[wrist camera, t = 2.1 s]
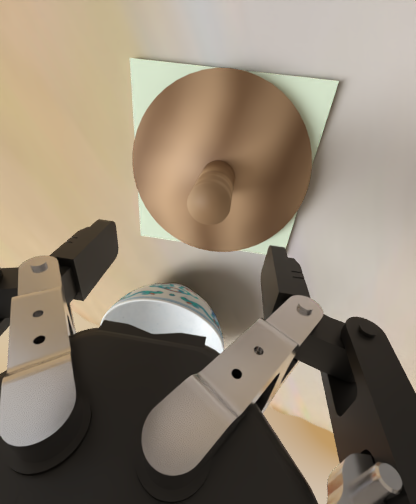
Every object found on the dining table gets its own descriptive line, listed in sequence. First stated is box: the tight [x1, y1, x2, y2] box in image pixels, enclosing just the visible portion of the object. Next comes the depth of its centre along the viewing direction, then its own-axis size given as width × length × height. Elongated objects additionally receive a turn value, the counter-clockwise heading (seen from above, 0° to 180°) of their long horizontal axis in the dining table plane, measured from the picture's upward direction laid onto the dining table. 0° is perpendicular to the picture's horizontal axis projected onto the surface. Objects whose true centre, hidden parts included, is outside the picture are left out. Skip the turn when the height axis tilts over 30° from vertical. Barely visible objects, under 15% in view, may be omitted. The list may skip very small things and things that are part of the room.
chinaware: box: [100, 283, 224, 354], centre depth 33 cm, size 15×15×8 cm
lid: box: [133, 68, 312, 252], centre depth 22 cm, size 17×17×8 cm
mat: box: [130, 58, 339, 255], centre depth 25 cm, size 17×17×1 cm
